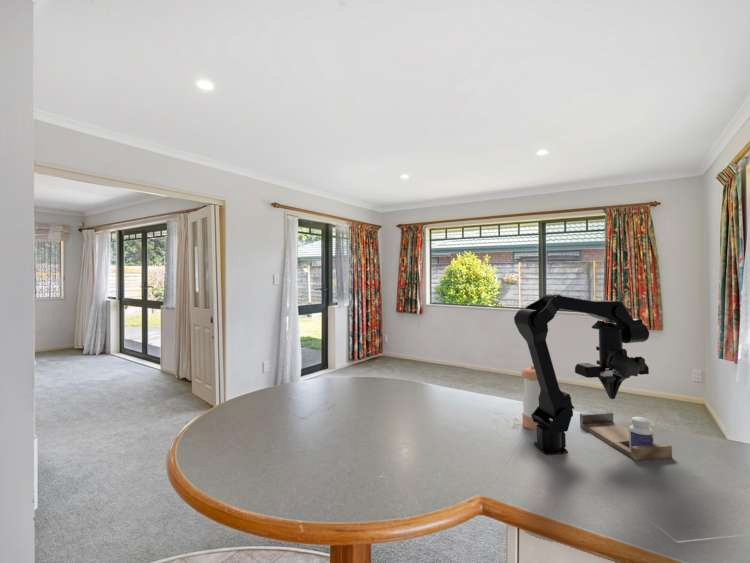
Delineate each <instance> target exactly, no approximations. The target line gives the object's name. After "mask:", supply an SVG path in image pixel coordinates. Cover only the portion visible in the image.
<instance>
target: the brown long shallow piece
mask: <svg viewBox="0 0 750 563" xmlns="http://www.w3.org/2000/svg"><path fill="white" fill-rule="evenodd" d="M579 427H580V428H583V430H586V431H587V432H589V433H590V434H592V435H594V436H595V437H597V438H598V439H600V440H602V441H603V442H605V443H606V444H608V445H610V446H612V447H613V448H615V449H616V450H618V451H620V452H621V453H623V454H624V455H626V456H628V457H629V458H631V459H632V460H634V461H646V460H647V461H648V460H657V459H658V460H659V459H672V458H673V445H672V444H669V443H667V442H666V443H654V442H653V445H640V446H631V449H630V447H628V446H630V439H629V428H628V429H627V428H625V427H624V426H622V425H620V424H618V423H616V422H615V421H614V413H613V412H612V411H598V412H597V411H596V412H585V413H579Z"/></svg>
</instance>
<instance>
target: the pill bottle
mask: <svg viewBox="0 0 750 563" xmlns="http://www.w3.org/2000/svg"><path fill="white" fill-rule="evenodd" d="M631 424H632V425H630V426H629V428H628V430H629V439H630V445H629V448H630V449H631V446H640V445H653V443H654V431H653V429H652V428H651V421H650V420H649V418H646V417H642V416H633V417H631Z"/></svg>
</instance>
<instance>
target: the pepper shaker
mask: <svg viewBox="0 0 750 563" xmlns="http://www.w3.org/2000/svg"><path fill="white" fill-rule="evenodd" d="M521 376H522V378H523V379H524V380H523V381H524V384H523V385H524V393H523V400H522V401H523V402H522V407H523V408H522V409H523V412H522V413H521V414H522V417H521V419H522V420H521V421H522V426H523V427H525V428H526V429H530V430H536V425H539V424H537V423H536V422H534V421H533V419H532V416H531V415H532V414H533V412H534V411H535V410H536V409H537V407H538V406H539V399H538V398H539V394H540V391H541V390H540V386H539V382H538V379H537V375H536V372H535V368H534V365H533V364H532V365H531V366H529V367H525V368H523V370H521Z"/></svg>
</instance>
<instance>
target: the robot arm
mask: <svg viewBox="0 0 750 563" xmlns="http://www.w3.org/2000/svg"><path fill="white" fill-rule="evenodd" d="M559 310H564V311H570V312H575V313H576V312H578V313H583V314H586V315H589V316H590V317H593V318H595V319H597V321H596V322H595V323H594V324H593V325H591V329H592V330H593V329H595V330H598V346H595V348H596V349H595V350H596V351H598V353H599V358H598V359H597V360H596V365H595V364H592V363H589V362H582V363H576V365H575V367H574V373H575V374H577V375H580V376H581V377H585V378H589V379H590V378H591V379H592V378H598V379H599V381H600V382H601V384H602V386H603V388H604V390H605V392H606V394H607V396H608V398H609V399H610V400H615V399H616V397H617V394H618V391H619V390H620V389H619V388H620V386H621V385H622V383H623V381H625V380H626V379H630V378H631V377H638V376H639V375H649V374H650V371H649V370H650V368H649V366H648V365H647V363H646V359H645V358H644V357H642V356H635V357H633V356H631V357H629V356H628V351H627V349H626V348H623V344H632V343H633V344H635V343H644V342H646V341H648V339H649V337H650V331H649V329H648V327H647V326H646V324H644V323H643V319H641V318H633V317H632V315H631V314H630V313H629V312H628V310H627V309H626V306H625V304H624V302H622V301H619V300H606V299H604V300H603V299H597V300H596V299H595V300H588V299H583V298H581V299H580V298H577V297H576V298H575V297H570V296H564V295H560V294H555V293H554V294H553V293H547V294H545V295H543V296H541V298H540V299H538V300H536V301H534V302H531V303H529V304H528V305H527V306H526V307H524V308H521V309H519V310H518V311H517V312H516V313H515V315H514V317H513V320H514V321H513V322H514V324H515V326H516V328H517V330H518V333H519V334H520V335H521V336H522V338H523V339H524V341H526V344H527V346H528V351H529V354H530V358H531V361H532V365H533V366H534V368H535V372H536V375H537V379H538V382H539V386H540V390H541V391H540V394H539V398H538V399H539V406H538V407H537V409H536V410H535V411H534V412H533V414H532V415H531V416H532V419H533V421H534V422H536V423H537V424H539V425H536V429H535V430H536V442H533V445H534V446H535V447H536V448H538V450H540V451H541V452H542V453H543V454H544V455H555V454H567V453H569V450H568V449H567V448H566V445H567V444H566V442H567V440H566V437H567V436H566V432H568V431H569V427H570V423H571V420H572V418H573V416H574V410H575V406H573V403H572V402H573V401H572V397H571V395H570V393H568V392H565V391H563V390H561V389H560V386H559V381H558V379H557V375H556V372H555V368H554V365H553V360H552V358H551V353H550V351H549V346H548V344H547V337H548V336H547V335H548V332H549V326H548V323H550V322H551V321H552V320H553V319H554V318H555V316H556V315H557V312H558V311H559Z"/></svg>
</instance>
